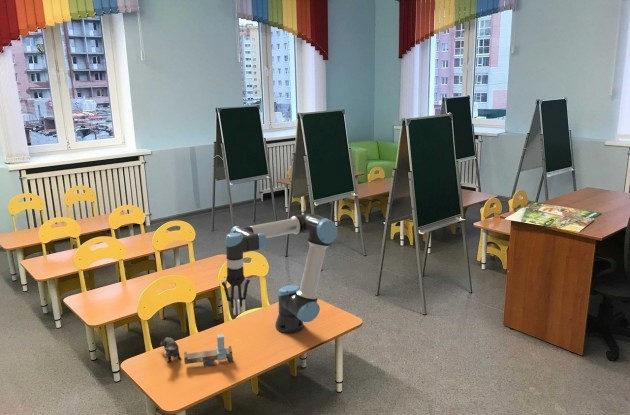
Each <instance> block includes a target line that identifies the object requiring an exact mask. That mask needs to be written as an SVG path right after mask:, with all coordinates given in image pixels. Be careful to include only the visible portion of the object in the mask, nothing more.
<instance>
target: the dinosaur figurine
mask: <svg viewBox="0 0 630 415" xmlns="http://www.w3.org/2000/svg"><path fill="white" fill-rule="evenodd" d="M159 346H160V347H163V349H164V351H165V352H166V353H165V358H166V359H167V364H172V363H173V361H172V358H173V357H174V358H175V357H177V361H181V360H182V357H181V356H180V352H179V351H180V350H179V349H180V347H179V345H178V344H177V342H176V341H175V340H174V338H172V337H168V336H167V337H165V338H164V339H163V340H162V341H160V344H159Z"/></svg>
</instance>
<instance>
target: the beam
mask: <svg viewBox="0 0 630 415" xmlns="http://www.w3.org/2000/svg"><path fill="white" fill-rule="evenodd" d="M225 350H226V360H227V364H230V363H234V357H233V348H232V346H231V345H228V347H227V348H226V347H225ZM183 356H184V361H183V362H184V365H189V364H197V363H203V365H202V366H203V368H209V367H215V364H216V363H215V361H218V358H217V350H216V349H213V350H212V349H211V350H205V351H196V352H188V353H187V351H184V352H183Z"/></svg>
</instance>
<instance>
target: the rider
mask: <svg viewBox="0 0 630 415" xmlns="http://www.w3.org/2000/svg"><path fill="white" fill-rule="evenodd" d="M216 342H217V345H215V346H216V347H215V350H217V358H218V360H217V361H218V362H221V361H226V360H227V359H226V350H225V349H226V344H225V335H224V333H220V334H217V335H216Z"/></svg>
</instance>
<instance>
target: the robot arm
mask: <svg viewBox="0 0 630 415" xmlns="http://www.w3.org/2000/svg"><path fill="white" fill-rule="evenodd" d="M290 234H293V235H306V236H307V243H308V244H309V247H308V250H307V255H306V260H305V264H304V269H303V274H302V277H301V282H300V287H299V286H298V285H291V284H290V285H284V286H282V287H280V288H279V289H278V293H277V294H278V295H277V296H278V297H277V298H278V315H277V318H276V321H275V329H276V330H277V331H278V332H281V333H282V334H283V333H284V334H295V333H297V332H298V333H299V332H300V331H302V330H303V329H304V323H311V322H312V321H314V320H315V319H316V318H317V317H318V315H319V314H320V305H319V303H318V298H319V296H318V294H317V288H318V286H319V281H320V276H321V272H322V267H323V263H324V258H325V255H326V250H327V248H329V247H330V246H331V243H333V242H334V241H335V240H336V238H337V236H338V228H337V225H336V223H335V222H334V221H332V220H330V219H329V218H327V217H324V216H322V215H321V216H320V215H318V214H315V213H305V214H304V213H303V214H299V215H293V216H291V217H290V218H288V219H282V220H278V221H277V220H276V221H271V222H265V223H261V224H255V225H249V226H243V227H242V226H239V225H235V226H233V227H232V228H231V229H230V232H229V233H228V234H226V236H225V249H226V251H225V252H226V256H225V257H226V277H225V279H224V280H221V285H222V287H223V288H224V293H225V297H226V298H225V299H226V300H227V302H230V308H231V309H233V312H232V313H233V315H234V316H235V315H236V313H237V315H239V316H240V315H241V308H243V301H244V300H246V299H247V294H248V287H249V284H250V282H251V279H250V278H249V277H246V276H245V275H244V253H250V252H253V251H260V250H262V249H266V247H267V245H268V240H267V239H270V238H275V237H279V236H285V235H290ZM243 282H244V286H243V292H242V286H241V285H242V284H243ZM228 284H229V285H230V294H229V291H228V287H227V285H228ZM235 287H237V293H238V299H237V298H236V301H237V303H236V301H235V299H234V298H235ZM229 295H230V296H229ZM236 304H237V311H236ZM237 315H236V316H237Z"/></svg>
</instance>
